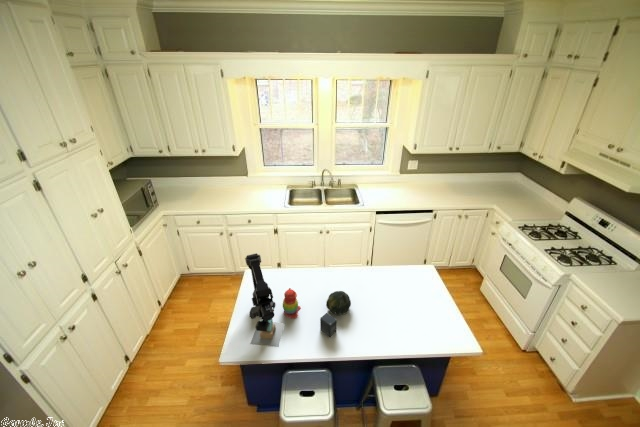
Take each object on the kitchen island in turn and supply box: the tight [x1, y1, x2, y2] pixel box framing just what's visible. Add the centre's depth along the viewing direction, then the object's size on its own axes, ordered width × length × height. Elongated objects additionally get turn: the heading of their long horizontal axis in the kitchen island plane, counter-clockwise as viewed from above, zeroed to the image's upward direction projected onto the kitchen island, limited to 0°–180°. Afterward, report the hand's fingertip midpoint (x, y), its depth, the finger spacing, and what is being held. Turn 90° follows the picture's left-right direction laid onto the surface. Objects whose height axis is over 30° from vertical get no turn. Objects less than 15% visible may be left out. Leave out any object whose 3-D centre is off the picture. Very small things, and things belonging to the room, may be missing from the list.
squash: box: [325, 290, 352, 316], centre depth 182 cm, size 14×15×15 cm
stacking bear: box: [282, 287, 302, 320], centre depth 179 cm, size 11×10×18 cm
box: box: [319, 312, 338, 339], centre depth 168 cm, size 8×6×11 cm
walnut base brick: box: [260, 324, 276, 339], centre depth 168 cm, size 7×7×4 cm
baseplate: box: [250, 321, 286, 348], centre depth 169 cm, size 16×16×1 cm
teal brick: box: [261, 318, 274, 331], centre depth 165 cm, size 5×5×6 cm
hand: (267, 325), depth 166 cm, fingers closed on teal brick, 5 cm apart
